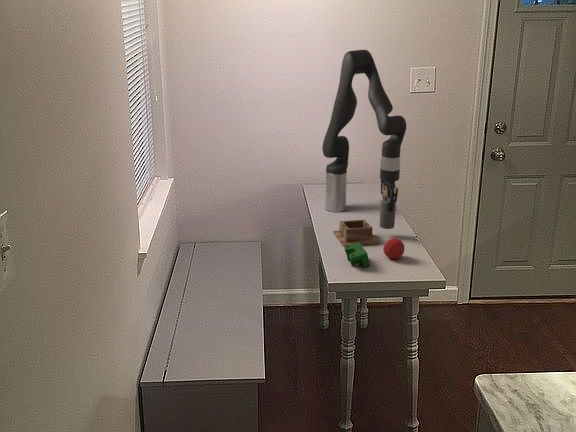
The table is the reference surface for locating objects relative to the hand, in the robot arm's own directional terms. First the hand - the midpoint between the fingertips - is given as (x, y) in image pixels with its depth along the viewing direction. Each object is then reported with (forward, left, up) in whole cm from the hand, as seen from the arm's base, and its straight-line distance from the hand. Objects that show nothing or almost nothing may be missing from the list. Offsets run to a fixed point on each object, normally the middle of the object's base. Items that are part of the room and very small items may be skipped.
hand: (387, 208), depth 263 cm
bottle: (0, 0, -8) cm, 8 cm away
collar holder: (0, -13, -12) cm, 18 cm away
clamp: (+24, -20, -12) cm, 33 cm away
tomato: (+22, -5, -12) cm, 26 cm away
